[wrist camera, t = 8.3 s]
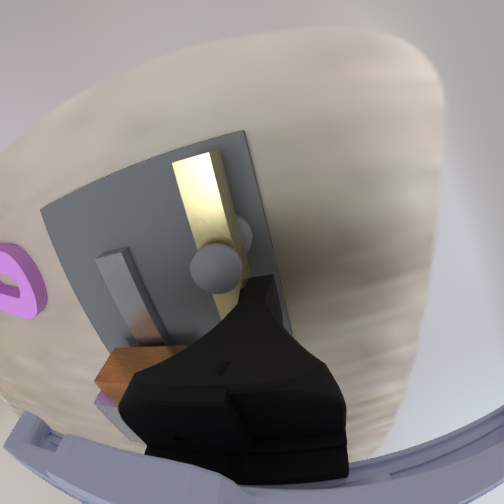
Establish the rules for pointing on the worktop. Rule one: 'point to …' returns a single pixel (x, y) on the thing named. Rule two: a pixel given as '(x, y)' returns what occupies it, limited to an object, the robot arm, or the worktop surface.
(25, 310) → the bracket
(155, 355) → the orange block with stem
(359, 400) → the worktop surface
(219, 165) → the keeper bar
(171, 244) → the grey latch board
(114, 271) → the block
